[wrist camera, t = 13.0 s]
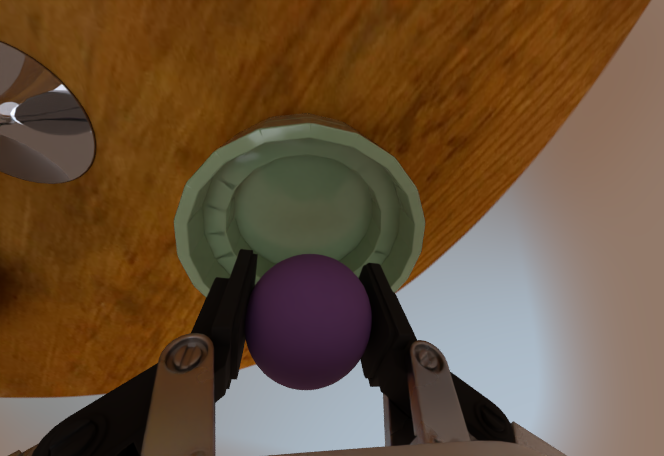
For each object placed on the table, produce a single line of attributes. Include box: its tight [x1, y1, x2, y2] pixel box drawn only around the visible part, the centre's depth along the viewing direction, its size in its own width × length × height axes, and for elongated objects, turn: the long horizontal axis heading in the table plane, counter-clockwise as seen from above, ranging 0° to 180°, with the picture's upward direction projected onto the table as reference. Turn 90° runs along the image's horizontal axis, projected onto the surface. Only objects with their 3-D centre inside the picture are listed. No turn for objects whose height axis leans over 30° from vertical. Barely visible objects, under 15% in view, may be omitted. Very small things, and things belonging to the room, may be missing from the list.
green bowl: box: [174, 113, 425, 298], centre depth 15 cm, size 13×13×5 cm
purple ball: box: [244, 254, 372, 390], centre depth 10 cm, size 5×5×5 cm
